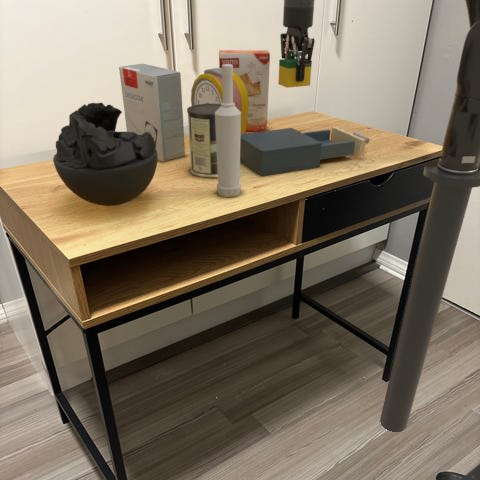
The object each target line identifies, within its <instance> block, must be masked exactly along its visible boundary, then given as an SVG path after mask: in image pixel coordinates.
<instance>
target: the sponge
mask: <svg viewBox="0 0 480 480" xmlns="http://www.w3.org/2000/svg"><path fill="white" fill-rule="evenodd" d="M300 59H301V57H300ZM312 65H313V60H311V63H310V64H307V65H306V66H305V75H304V81H302V82H297V81H296V66H297V63H296V57H295V59H282V58H281V59H279V60H278V85H279V86H281V87H284V88H287V89H288V88H299V87H308V86H309V87H310V86H311V77H312V76H311V75H312Z"/></svg>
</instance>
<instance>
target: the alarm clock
mask: <svg viewBox="0 0 480 480" xmlns="http://www.w3.org/2000/svg"><path fill="white" fill-rule="evenodd" d="M221 103H223V79H222V69H221V68H219V67H214V68H213V67H212V68H208V69H205V70H203V73H201V74H199V75H198V76H197V77H196V78H195V79H194V80H193V84H192V86H191V91H190V104H191V106H193V105H199V104H221ZM233 103H234V104H235V107H236V108H237V109H238V110H239V111H240V112H241V134H245V133H247V131H246V124H247V116H248V108H249V101H248V93H247V90H246V88H245V85H244V82H243V81H242V80H241V78H240V77H239V76H238V74H236V73H234V72H233Z"/></svg>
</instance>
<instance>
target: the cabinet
mask: <svg viewBox="0 0 480 480" xmlns="http://www.w3.org/2000/svg"><path fill="white" fill-rule="evenodd" d="M303 133H304V132H302V131H299V130H297V129H295V128H293V127H287V128H278V129H271V130H267V131H253V132H245V134H241V137H240V163H242V164H244V165H245V166H246V167H248V168H249V169H251V170H252V171H254V172H255V173H257V174H258V175H259V176H261V177H265V176H271V175H277V174H285V173H291V172H297V171H304V170H309V169H315V168H320V166H321V160H320V158H321V146H322V143H321V142H319V141H317V140H315V139H313V138H311V137H309V136H307V135H305V134H303Z"/></svg>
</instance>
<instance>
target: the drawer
mask: <svg viewBox="0 0 480 480" xmlns="http://www.w3.org/2000/svg"><path fill="white" fill-rule="evenodd" d="M302 133H303V134H305V135H307V136H309V137H311V138H313V139H315V140H317V141H319V142H321V143H322V146H321V158H320V161H321V160H327V159H333V158H340V157H348V156H353V155H354V154H355V155H357V156H359V157H363V156H365V149H366V145H367V144H369V143H370V140H371V139H370V138H369V137H367V136H364V135H362V134H360V133H358V132H353V133H351V132H349V131H347V130H344V129H342V128H340V127H337V126H332V127H331V129H329V128H328V129H321V130H313V131H305V132H302Z"/></svg>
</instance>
